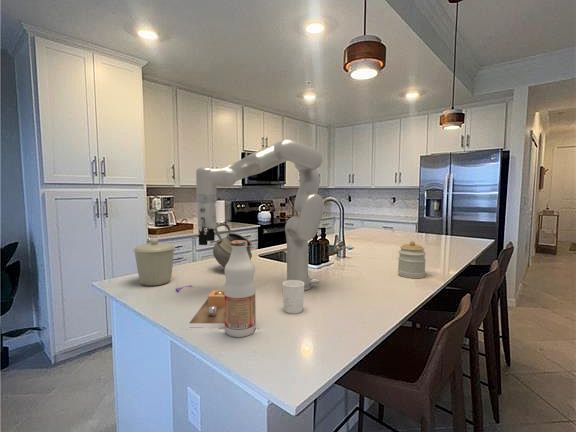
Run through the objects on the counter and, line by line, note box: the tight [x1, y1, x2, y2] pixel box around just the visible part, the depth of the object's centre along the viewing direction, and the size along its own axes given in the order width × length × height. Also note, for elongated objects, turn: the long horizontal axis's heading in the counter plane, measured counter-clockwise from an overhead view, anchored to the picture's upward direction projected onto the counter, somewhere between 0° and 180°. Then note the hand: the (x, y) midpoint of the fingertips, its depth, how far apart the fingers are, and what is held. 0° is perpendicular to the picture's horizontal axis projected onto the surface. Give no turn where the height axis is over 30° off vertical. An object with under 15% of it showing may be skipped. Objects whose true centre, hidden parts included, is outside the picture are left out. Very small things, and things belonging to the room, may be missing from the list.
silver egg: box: [209, 306, 217, 317], centre depth 107 cm, size 2×2×3 cm
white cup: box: [282, 280, 305, 314], centre depth 115 cm, size 8×8×10 cm
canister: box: [132, 237, 176, 287], centre depth 148 cm, size 18×18×21 cm
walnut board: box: [189, 298, 225, 329], centre depth 112 cm, size 12×23×2 cm, turn 179°
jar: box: [397, 240, 427, 279], centre depth 161 cm, size 13×13×18 cm
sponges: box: [175, 284, 194, 293], centre depth 135 cm, size 7×13×2 cm, turn 39°
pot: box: [212, 222, 253, 268], centre depth 171 cm, size 21×21×25 cm
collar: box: [207, 289, 225, 307], centre depth 118 cm, size 7×7×4 cm
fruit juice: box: [224, 240, 257, 338], centre depth 98 cm, size 9×9×28 cm
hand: (207, 242), depth 126 cm, fingers open, 9 cm apart
